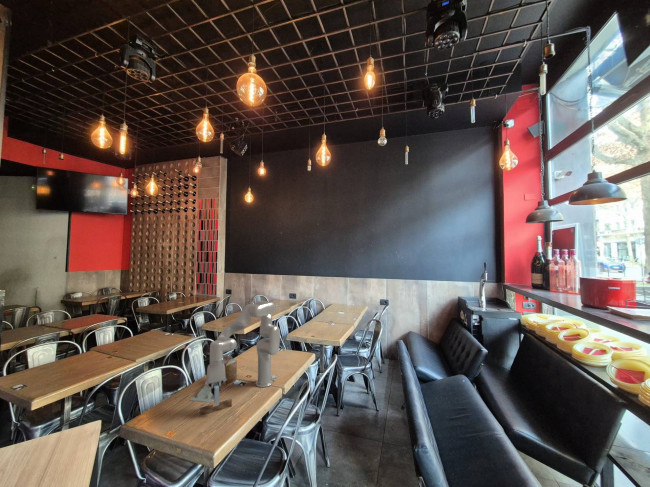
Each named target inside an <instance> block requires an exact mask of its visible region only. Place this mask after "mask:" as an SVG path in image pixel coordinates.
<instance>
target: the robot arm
mask: <svg viewBox="0 0 650 487" xmlns="http://www.w3.org/2000/svg"><path fill="white" fill-rule="evenodd" d="M275 310H276V304H275V302H272V301H265V300H257V301H256V302H255V303H248V304H246V305H245V307H244V308H243V309H242V310H241V312H240V314H239V315H238V317H237V318H235V321H233V322H232V323H230V324H229V325H227V326H226V327H225V328H224V329H223V330H222V331H221V333H220V334H219V335H218V337H217V339H216V340H214V341H213V340H212V341H211V342H210V345H209V364H208V365H207V370H206V380H205V382H204V386H207V387H211V393H212V394H213V395H214V383H215V382H218V386H219V392H221V387H222V386H223V385H222V383H223V382H225V381H226V380H227V379H226V377H225V366H224V361H225V360H226V359H224V358H223V355H224V353H227V352H231V351H233V350H235V349H236V348H237V344H238V343H237V341H236V340H235V338H231V336H232V335H233V334H235V333H238V332H239V331H242V330H245V329H246V328H247V327H248V325H250V322H251V321H252V320H253V318H260V324H259V335H260V336H261V337H262V338H261V339H259V340H258V341H257V343H256V353H257V380H256V381H255V385H256V387H259V388H267V387H270V386H272V385H273V384H274V379H278V375H275V374H273V375H272V356H276V355H277V354H278V352H279V350H280V344H281V340H280V339H281V330H280V327H279V326H278V325H276V324H275V325H274V324H273V313H274V312H275Z"/></svg>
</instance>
